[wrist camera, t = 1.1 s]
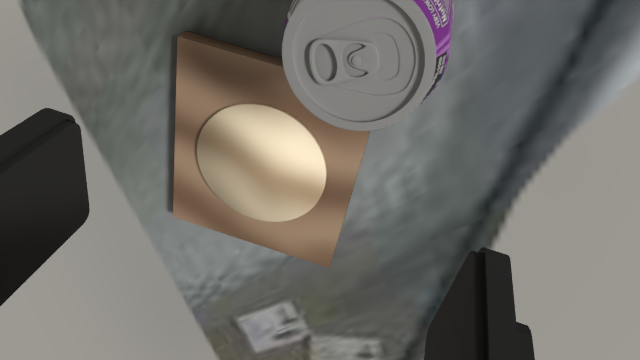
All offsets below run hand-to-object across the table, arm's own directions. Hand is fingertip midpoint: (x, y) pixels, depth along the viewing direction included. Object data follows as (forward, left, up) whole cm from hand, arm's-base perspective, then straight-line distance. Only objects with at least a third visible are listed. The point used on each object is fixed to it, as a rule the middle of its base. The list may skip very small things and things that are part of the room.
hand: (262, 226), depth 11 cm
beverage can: (0, 0, -22) cm, 22 cm away
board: (+14, -6, -22) cm, 27 cm away
